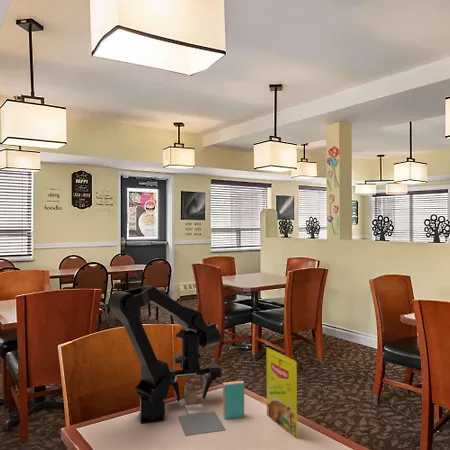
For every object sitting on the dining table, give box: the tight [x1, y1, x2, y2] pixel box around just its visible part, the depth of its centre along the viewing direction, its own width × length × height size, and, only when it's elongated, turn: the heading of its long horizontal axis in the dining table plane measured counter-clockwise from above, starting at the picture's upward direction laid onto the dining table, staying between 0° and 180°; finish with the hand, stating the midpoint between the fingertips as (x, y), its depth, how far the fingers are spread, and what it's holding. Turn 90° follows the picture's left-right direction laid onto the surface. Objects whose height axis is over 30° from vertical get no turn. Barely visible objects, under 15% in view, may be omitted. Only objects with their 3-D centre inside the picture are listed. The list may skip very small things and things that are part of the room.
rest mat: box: [178, 411, 227, 437], centre depth 119 cm, size 11×12×1 cm
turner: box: [183, 384, 206, 415], centre depth 131 cm, size 14×5×4 cm, turn 16°
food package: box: [265, 346, 298, 439], centre depth 118 cm, size 15×1×20 cm, turn 25°
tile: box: [222, 380, 245, 420], centre depth 123 cm, size 6×2×10 cm, turn 105°
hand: (191, 400), depth 133 cm, fingers open, 8 cm apart
